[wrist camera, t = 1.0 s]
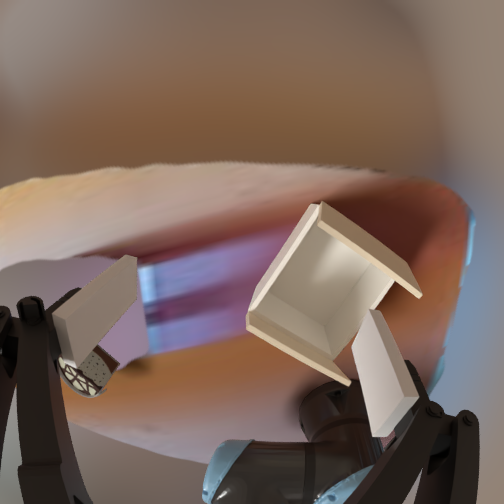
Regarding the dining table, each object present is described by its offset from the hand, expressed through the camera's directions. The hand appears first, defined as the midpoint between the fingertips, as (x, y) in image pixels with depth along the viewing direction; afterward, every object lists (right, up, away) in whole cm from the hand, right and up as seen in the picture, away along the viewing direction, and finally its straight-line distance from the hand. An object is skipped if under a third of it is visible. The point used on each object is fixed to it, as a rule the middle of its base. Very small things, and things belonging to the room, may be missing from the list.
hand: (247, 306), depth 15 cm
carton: (+10, 0, +27) cm, 29 cm away
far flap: (+5, -8, +15) cm, 18 cm away
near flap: (+12, +3, +13) cm, 18 cm away
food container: (-32, -19, +36) cm, 52 cm away
